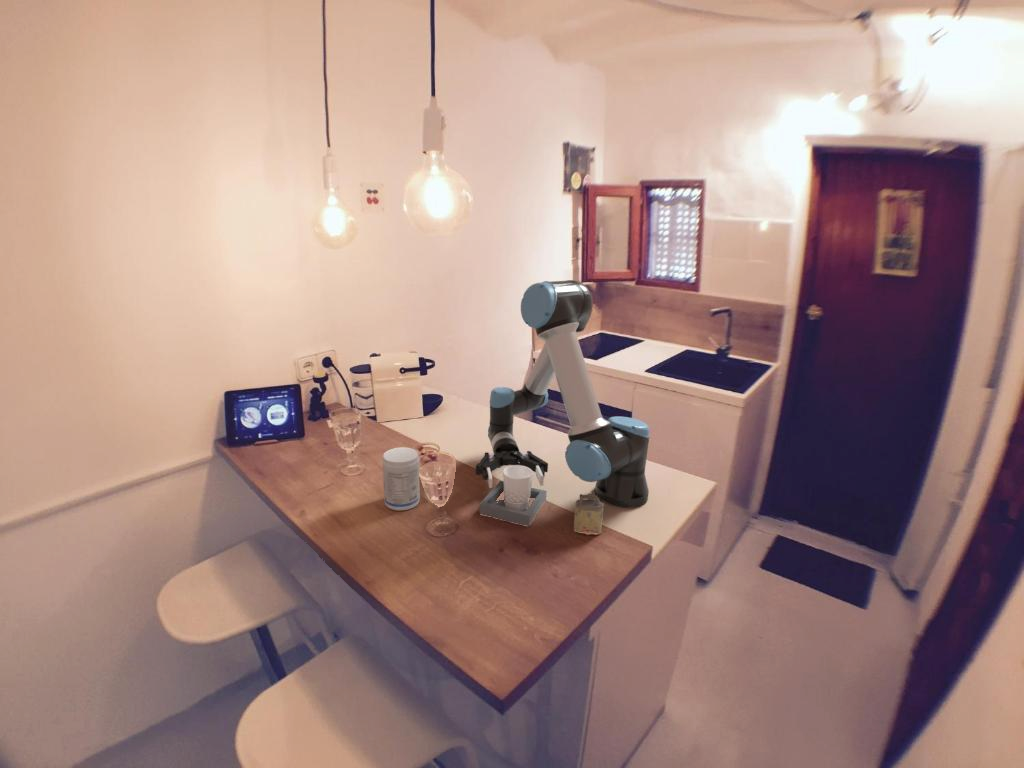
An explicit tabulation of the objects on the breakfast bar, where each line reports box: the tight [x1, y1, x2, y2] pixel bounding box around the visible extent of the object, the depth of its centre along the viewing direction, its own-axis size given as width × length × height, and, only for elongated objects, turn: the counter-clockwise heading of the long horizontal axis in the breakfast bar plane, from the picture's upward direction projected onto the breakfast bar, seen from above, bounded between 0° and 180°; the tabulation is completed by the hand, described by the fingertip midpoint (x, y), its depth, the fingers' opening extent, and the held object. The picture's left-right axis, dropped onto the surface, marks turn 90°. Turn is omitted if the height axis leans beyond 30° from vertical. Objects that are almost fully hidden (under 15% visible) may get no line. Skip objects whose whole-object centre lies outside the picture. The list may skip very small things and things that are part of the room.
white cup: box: [502, 465, 534, 511], centre depth 134 cm, size 8×8×10 cm
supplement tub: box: [382, 447, 421, 512], centre depth 134 cm, size 10×10×15 cm
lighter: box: [573, 493, 604, 533], centre depth 124 cm, size 7×4×10 cm, turn 85°
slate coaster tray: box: [478, 480, 548, 526], centre depth 135 cm, size 14×14×4 cm
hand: (516, 482), depth 129 cm, fingers open, 13 cm apart
